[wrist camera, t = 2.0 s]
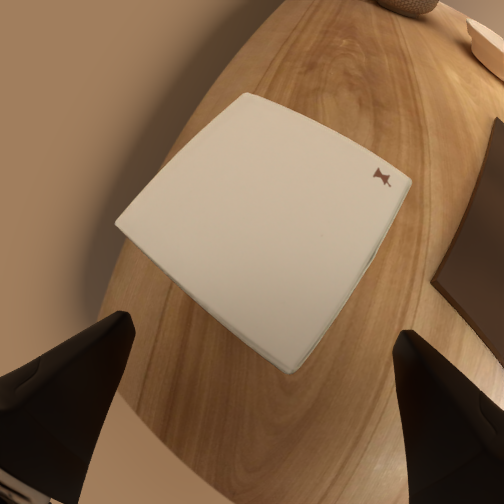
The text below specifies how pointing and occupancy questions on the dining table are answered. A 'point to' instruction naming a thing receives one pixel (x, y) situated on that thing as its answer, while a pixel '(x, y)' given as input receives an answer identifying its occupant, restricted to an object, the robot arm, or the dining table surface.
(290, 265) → the white packaging box
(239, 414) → the dining table surface
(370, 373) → the dining table surface
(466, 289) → the board
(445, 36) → the dining table surface
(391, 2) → the planter
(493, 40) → the bowl
